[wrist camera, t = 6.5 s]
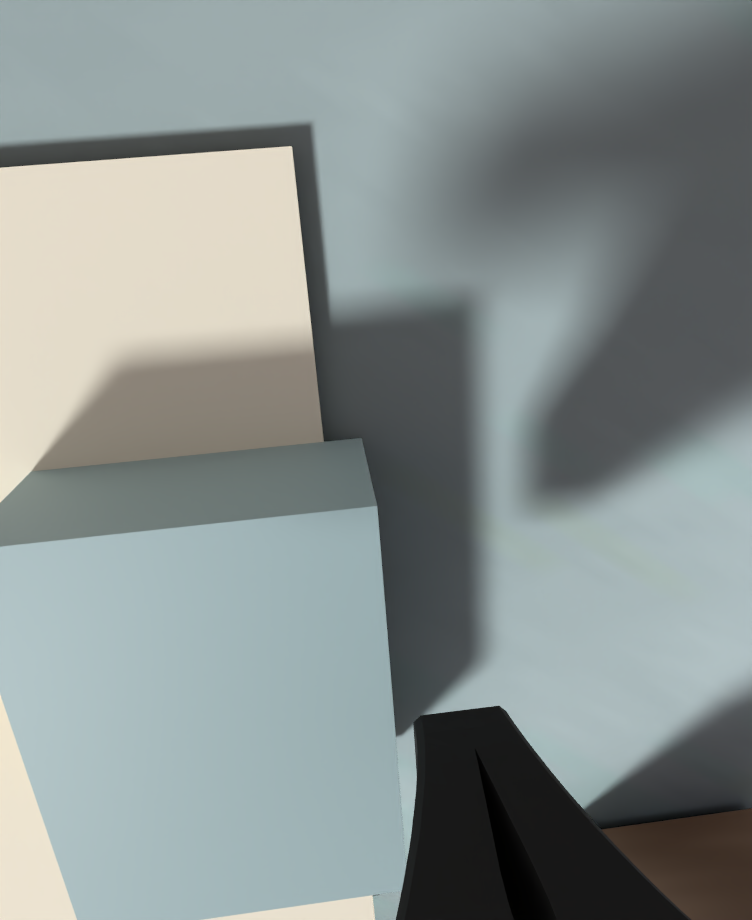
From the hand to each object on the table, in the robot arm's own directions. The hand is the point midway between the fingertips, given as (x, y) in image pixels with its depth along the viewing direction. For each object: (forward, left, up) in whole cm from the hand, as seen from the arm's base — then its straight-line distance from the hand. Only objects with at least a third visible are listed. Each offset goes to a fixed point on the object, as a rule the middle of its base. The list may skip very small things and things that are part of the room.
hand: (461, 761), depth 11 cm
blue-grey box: (+1, 0, -3) cm, 3 cm away
